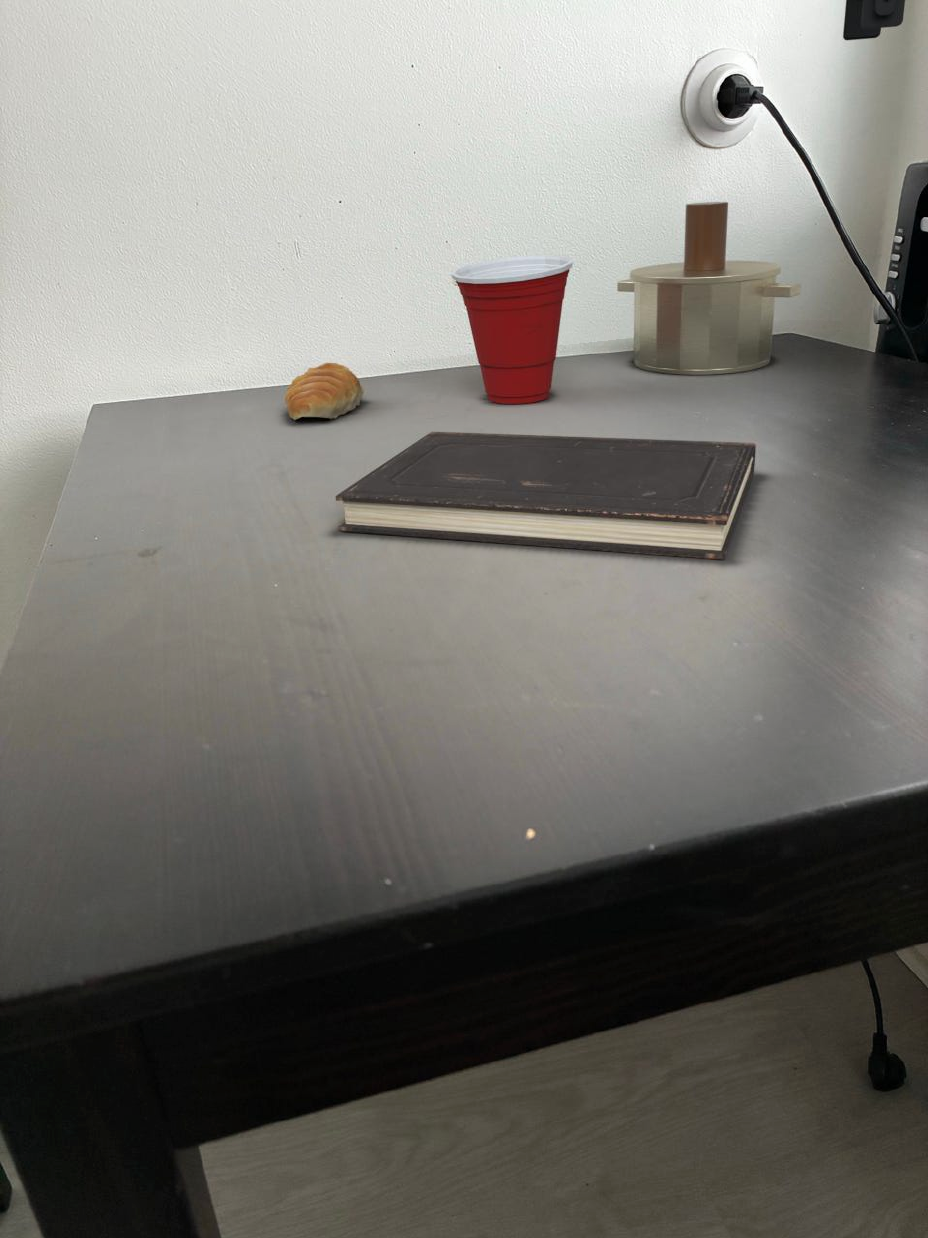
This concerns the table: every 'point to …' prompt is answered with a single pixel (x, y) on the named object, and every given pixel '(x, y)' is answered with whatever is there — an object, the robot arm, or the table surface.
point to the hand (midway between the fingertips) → (870, 33)
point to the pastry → (324, 392)
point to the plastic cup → (515, 322)
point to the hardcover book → (559, 492)
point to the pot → (704, 325)
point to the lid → (705, 253)
